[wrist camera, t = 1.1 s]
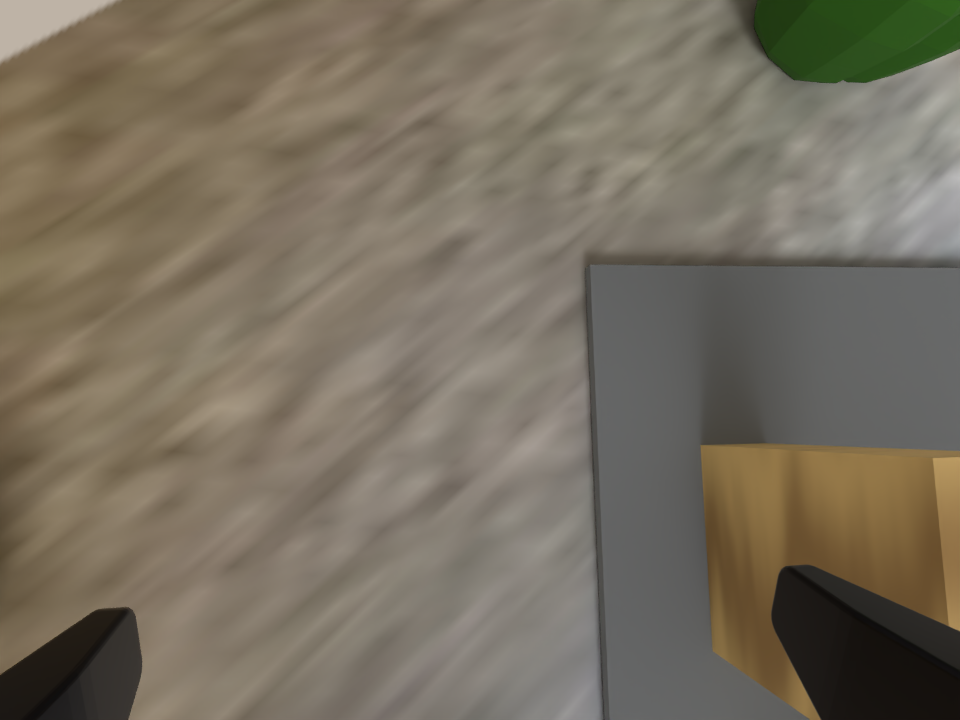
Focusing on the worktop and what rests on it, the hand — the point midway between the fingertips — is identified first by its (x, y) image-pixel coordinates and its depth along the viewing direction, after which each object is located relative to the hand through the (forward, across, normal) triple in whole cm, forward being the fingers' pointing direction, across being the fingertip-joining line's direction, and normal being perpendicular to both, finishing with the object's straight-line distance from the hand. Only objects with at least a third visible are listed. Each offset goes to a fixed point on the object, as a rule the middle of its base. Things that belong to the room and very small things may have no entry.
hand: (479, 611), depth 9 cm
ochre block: (+11, -11, +7) cm, 17 cm away
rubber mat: (+12, -15, +6) cm, 20 cm away
